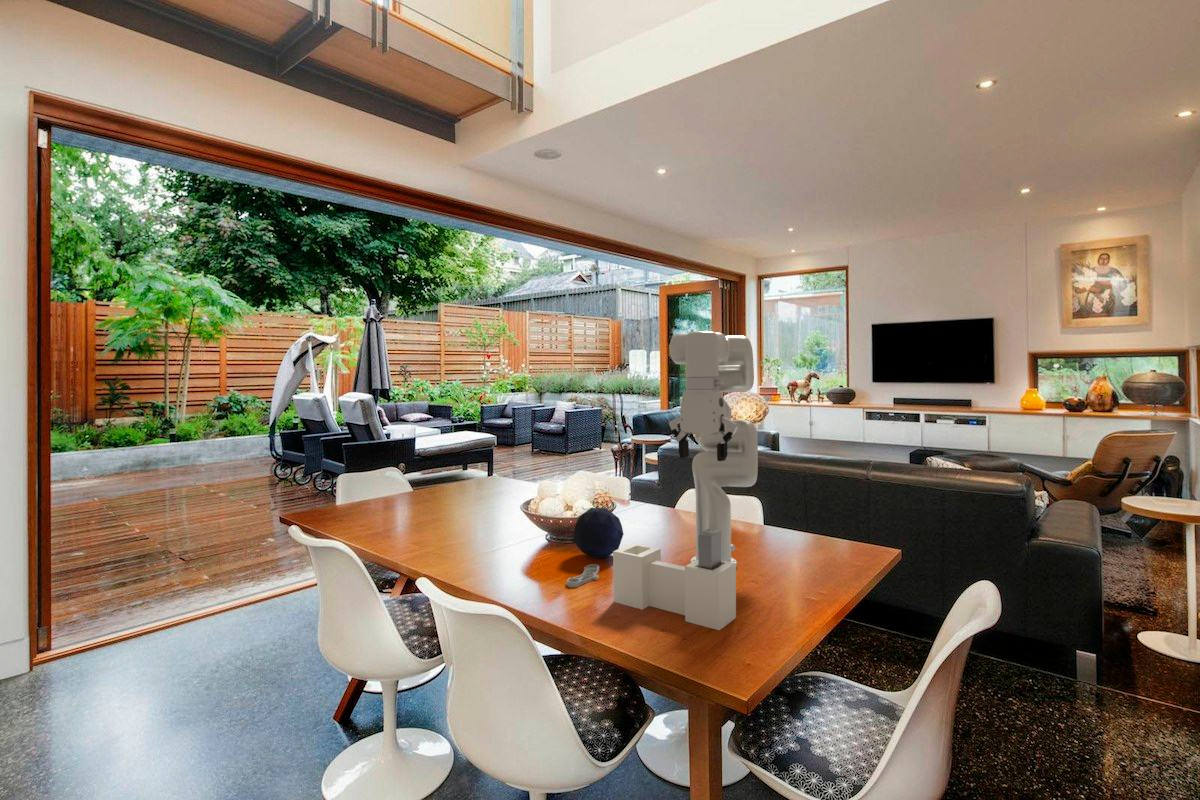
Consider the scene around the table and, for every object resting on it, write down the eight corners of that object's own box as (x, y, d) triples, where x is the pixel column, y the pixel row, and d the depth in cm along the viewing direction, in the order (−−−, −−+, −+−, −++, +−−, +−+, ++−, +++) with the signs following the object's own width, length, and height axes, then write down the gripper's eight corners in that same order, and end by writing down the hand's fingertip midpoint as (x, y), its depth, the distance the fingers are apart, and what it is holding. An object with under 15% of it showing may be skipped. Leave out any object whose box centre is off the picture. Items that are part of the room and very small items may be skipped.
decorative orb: (622, 529, 187) (593, 493, 183) (640, 541, 172) (609, 502, 169) (587, 560, 183) (557, 524, 180) (603, 576, 169) (570, 537, 166)
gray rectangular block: (708, 578, 133) (708, 529, 132) (721, 581, 131) (721, 530, 131) (698, 585, 129) (698, 534, 128) (711, 587, 127) (711, 536, 126)
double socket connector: (633, 591, 147) (632, 543, 147) (736, 617, 131) (735, 563, 130) (613, 601, 141) (613, 551, 140) (719, 630, 125) (719, 573, 124)
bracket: (554, 577, 155) (592, 562, 166) (554, 584, 155) (592, 568, 166) (575, 583, 150) (613, 567, 161) (576, 591, 150) (613, 574, 161)
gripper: (744, 384, 137) (744, 459, 138) (677, 384, 147) (678, 454, 148) (729, 385, 131) (729, 464, 132) (661, 385, 141) (662, 458, 142)
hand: (702, 458), depth 140 cm, fingers open, 9 cm apart
